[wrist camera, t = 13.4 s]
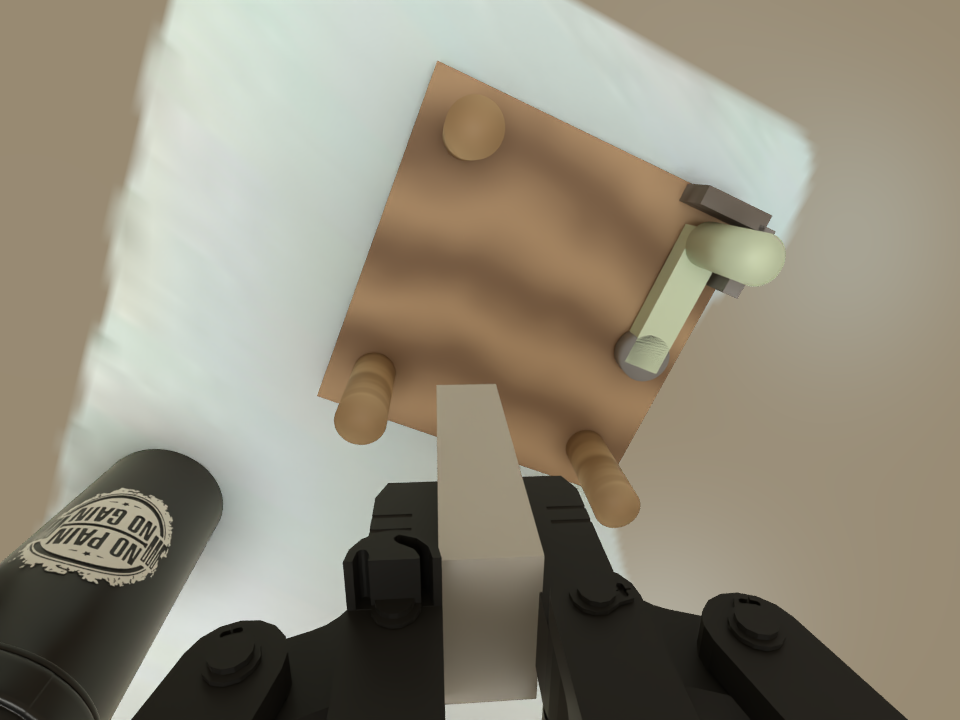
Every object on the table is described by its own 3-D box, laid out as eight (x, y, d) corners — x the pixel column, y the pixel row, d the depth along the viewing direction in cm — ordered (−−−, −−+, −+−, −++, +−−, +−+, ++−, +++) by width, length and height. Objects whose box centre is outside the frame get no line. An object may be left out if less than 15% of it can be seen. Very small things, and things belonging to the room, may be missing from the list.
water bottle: (251, 465, 41) (47, 802, 19) (213, 571, 44) (-3, 970, 22) (107, 419, 39) (-302, 737, 17) (77, 533, 42) (-308, 931, 20)
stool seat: (595, 478, 44) (637, 560, 35) (322, 384, 39) (289, 450, 30) (740, 212, 38) (837, 227, 28) (437, 66, 33) (438, 29, 24)
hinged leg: (646, 379, 39) (692, 426, 32) (606, 363, 38) (644, 407, 31) (727, 230, 36) (798, 246, 29) (685, 210, 35) (748, 221, 28)
